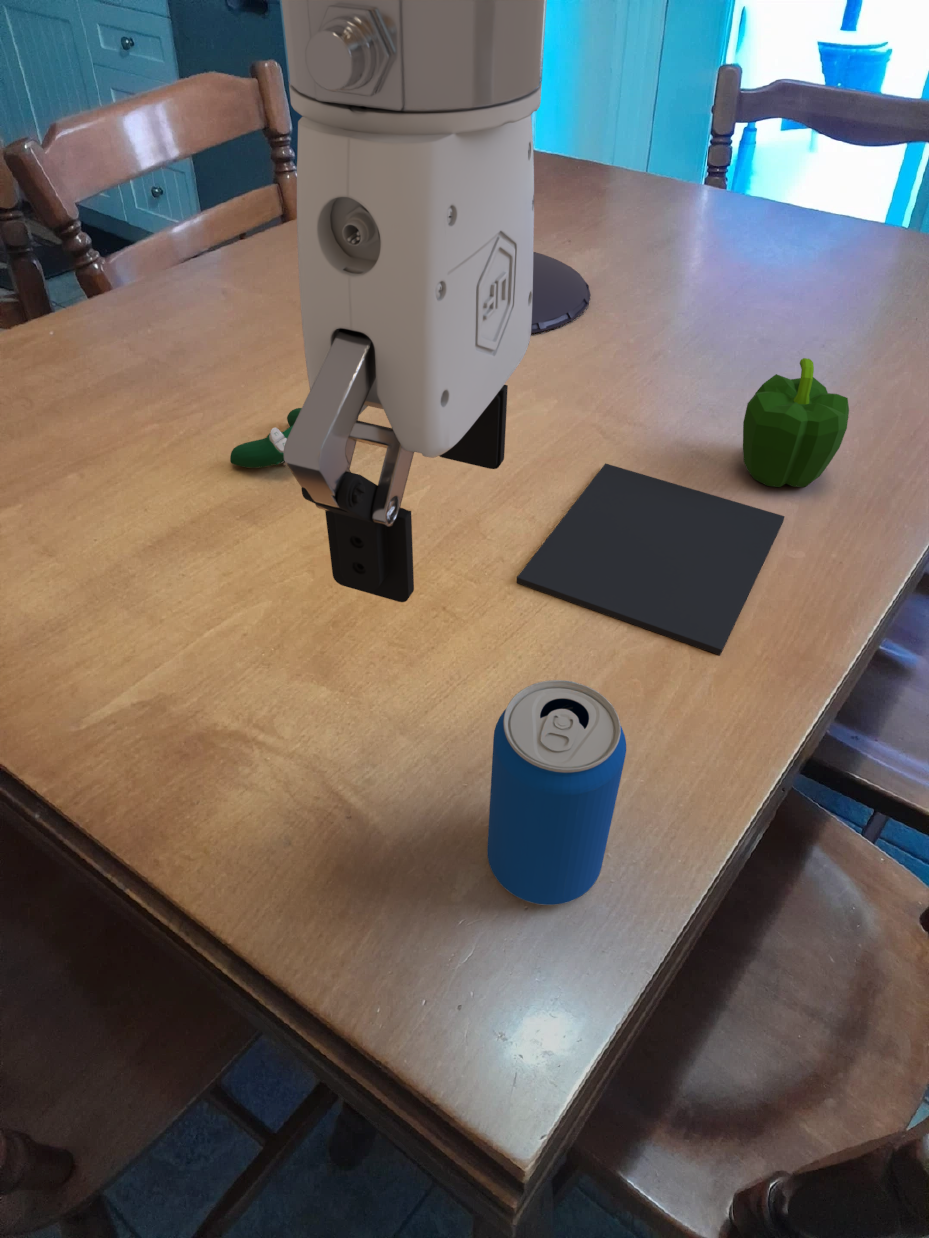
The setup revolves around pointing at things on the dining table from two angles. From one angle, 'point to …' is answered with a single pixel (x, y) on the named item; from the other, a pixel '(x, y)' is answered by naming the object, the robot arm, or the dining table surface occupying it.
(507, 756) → the beverage can
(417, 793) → the dining table surface
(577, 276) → the toy spaceship
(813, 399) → the bell pepper
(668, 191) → the dining table surface
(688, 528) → the mat
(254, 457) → the gaming controller
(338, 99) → the robot arm
